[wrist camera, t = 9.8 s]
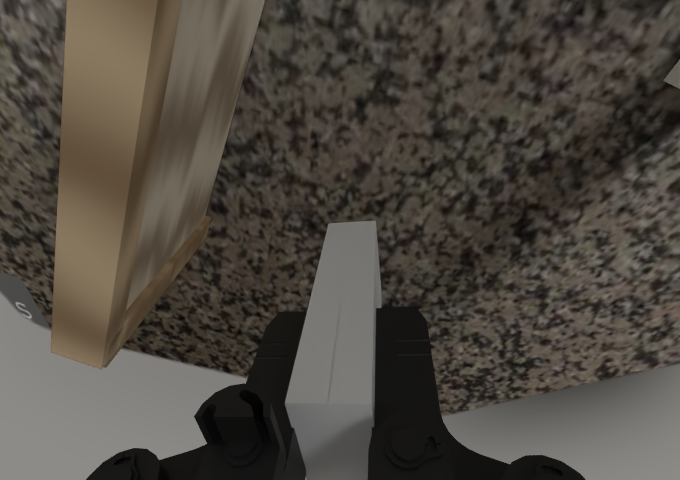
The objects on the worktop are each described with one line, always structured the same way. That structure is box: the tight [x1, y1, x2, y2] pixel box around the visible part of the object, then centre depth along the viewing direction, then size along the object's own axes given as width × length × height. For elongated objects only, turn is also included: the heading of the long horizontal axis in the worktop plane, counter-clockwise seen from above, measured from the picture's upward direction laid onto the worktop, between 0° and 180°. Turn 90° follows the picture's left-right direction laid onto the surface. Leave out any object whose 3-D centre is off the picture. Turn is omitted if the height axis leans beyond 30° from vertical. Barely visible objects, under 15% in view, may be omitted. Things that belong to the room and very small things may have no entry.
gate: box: [51, 0, 265, 369], centre depth 17 cm, size 22×2×12 cm, turn 157°
